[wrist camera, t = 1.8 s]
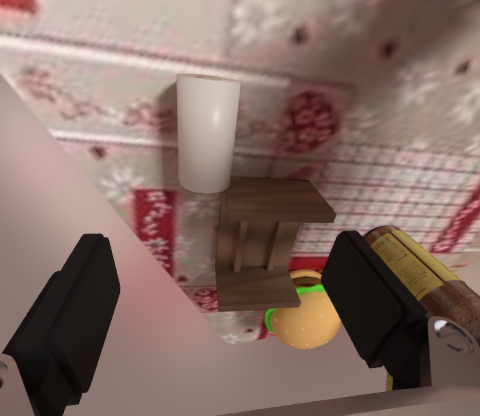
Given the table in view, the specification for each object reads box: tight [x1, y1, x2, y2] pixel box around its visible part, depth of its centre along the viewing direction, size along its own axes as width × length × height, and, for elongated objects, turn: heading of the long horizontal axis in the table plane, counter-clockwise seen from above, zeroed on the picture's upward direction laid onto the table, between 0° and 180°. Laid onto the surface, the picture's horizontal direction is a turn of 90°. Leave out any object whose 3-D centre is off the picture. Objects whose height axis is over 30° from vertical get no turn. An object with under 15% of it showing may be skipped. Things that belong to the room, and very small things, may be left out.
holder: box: [215, 176, 336, 312], centre depth 28 cm, size 14×10×7 cm
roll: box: [177, 74, 241, 194], centre depth 22 cm, size 9×5×5 cm, turn 173°
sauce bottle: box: [365, 226, 480, 347], centre depth 27 cm, size 7×6×20 cm
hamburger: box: [265, 269, 342, 349], centre depth 36 cm, size 12×12×9 cm
